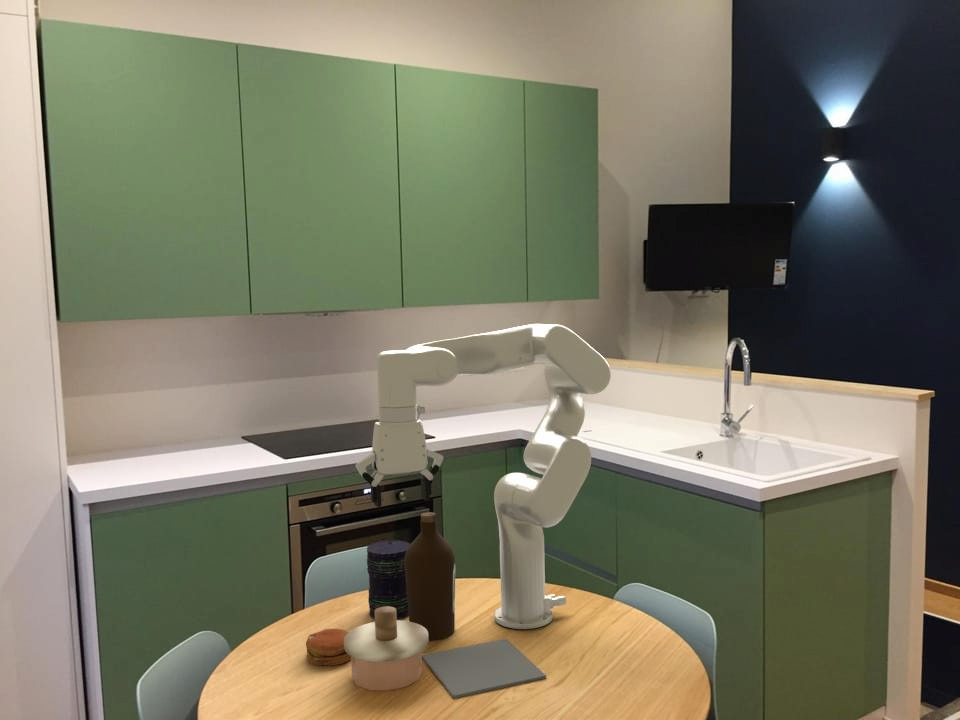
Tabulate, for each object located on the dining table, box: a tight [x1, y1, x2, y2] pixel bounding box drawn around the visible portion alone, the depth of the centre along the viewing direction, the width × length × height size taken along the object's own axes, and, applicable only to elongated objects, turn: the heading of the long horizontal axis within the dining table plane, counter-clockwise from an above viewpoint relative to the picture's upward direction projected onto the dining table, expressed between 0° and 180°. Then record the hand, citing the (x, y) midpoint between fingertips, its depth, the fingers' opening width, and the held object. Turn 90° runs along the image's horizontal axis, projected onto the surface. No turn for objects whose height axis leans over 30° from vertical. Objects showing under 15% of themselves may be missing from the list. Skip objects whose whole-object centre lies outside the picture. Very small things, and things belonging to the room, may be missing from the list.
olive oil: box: [404, 511, 457, 641], centre depth 174 cm, size 11×11×25 cm
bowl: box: [350, 650, 423, 692], centre depth 156 cm, size 13×13×6 cm
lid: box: [344, 606, 430, 661], centre depth 155 cm, size 16×16×6 cm
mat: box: [422, 638, 547, 699], centre depth 157 cm, size 18×18×1 cm
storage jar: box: [366, 539, 411, 620], centre depth 185 cm, size 10×10×15 cm
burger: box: [305, 628, 351, 666], centre depth 164 cm, size 10×9×5 cm
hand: (401, 502), depth 162 cm, fingers open, 9 cm apart
